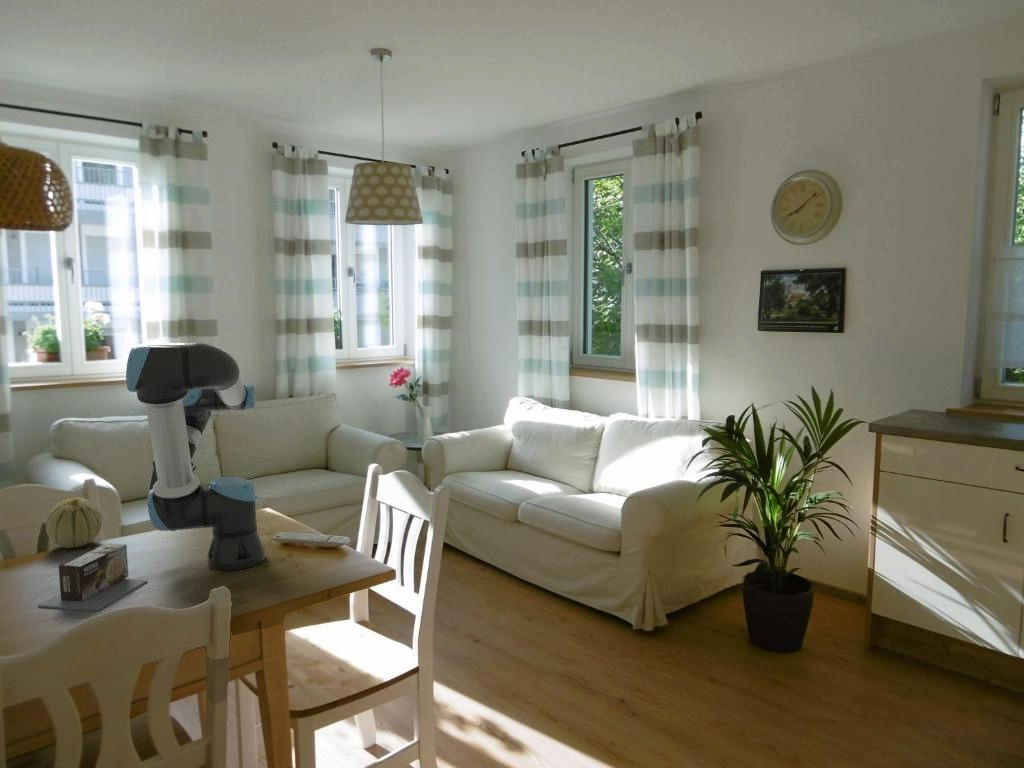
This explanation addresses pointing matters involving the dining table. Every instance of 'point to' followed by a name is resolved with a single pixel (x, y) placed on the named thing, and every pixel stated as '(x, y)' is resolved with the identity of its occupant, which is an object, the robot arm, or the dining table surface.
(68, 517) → the cantaloupe
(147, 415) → the robot arm
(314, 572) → the dining table surface
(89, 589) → the coffee box
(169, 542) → the dining table surface
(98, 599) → the slate mat
